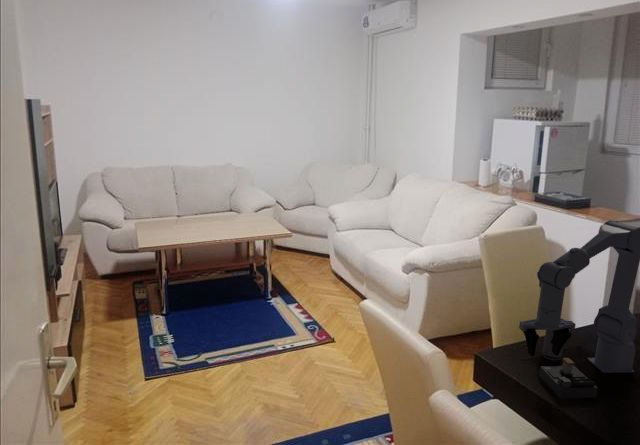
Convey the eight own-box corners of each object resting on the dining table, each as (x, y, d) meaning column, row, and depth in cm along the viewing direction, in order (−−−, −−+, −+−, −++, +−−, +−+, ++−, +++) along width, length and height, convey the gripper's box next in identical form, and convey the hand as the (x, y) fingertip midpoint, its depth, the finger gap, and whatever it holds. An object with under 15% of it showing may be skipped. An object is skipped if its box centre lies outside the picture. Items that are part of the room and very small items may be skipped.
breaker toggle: (567, 369, 140) (569, 357, 139) (573, 375, 137) (575, 363, 136) (559, 370, 139) (561, 357, 138) (565, 375, 137) (567, 363, 136)
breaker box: (572, 375, 144) (575, 360, 143) (596, 397, 133) (599, 381, 132) (539, 375, 143) (541, 360, 142) (559, 398, 132) (562, 382, 131)
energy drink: (563, 362, 151) (569, 325, 148) (544, 360, 152) (549, 323, 149) (558, 353, 156) (564, 317, 153) (540, 351, 157) (545, 315, 154)
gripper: (567, 301, 137) (560, 346, 141) (516, 301, 136) (510, 347, 139) (582, 311, 130) (575, 359, 134) (529, 312, 129) (522, 360, 132)
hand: (543, 353), depth 136 cm, fingers open, 6 cm apart
